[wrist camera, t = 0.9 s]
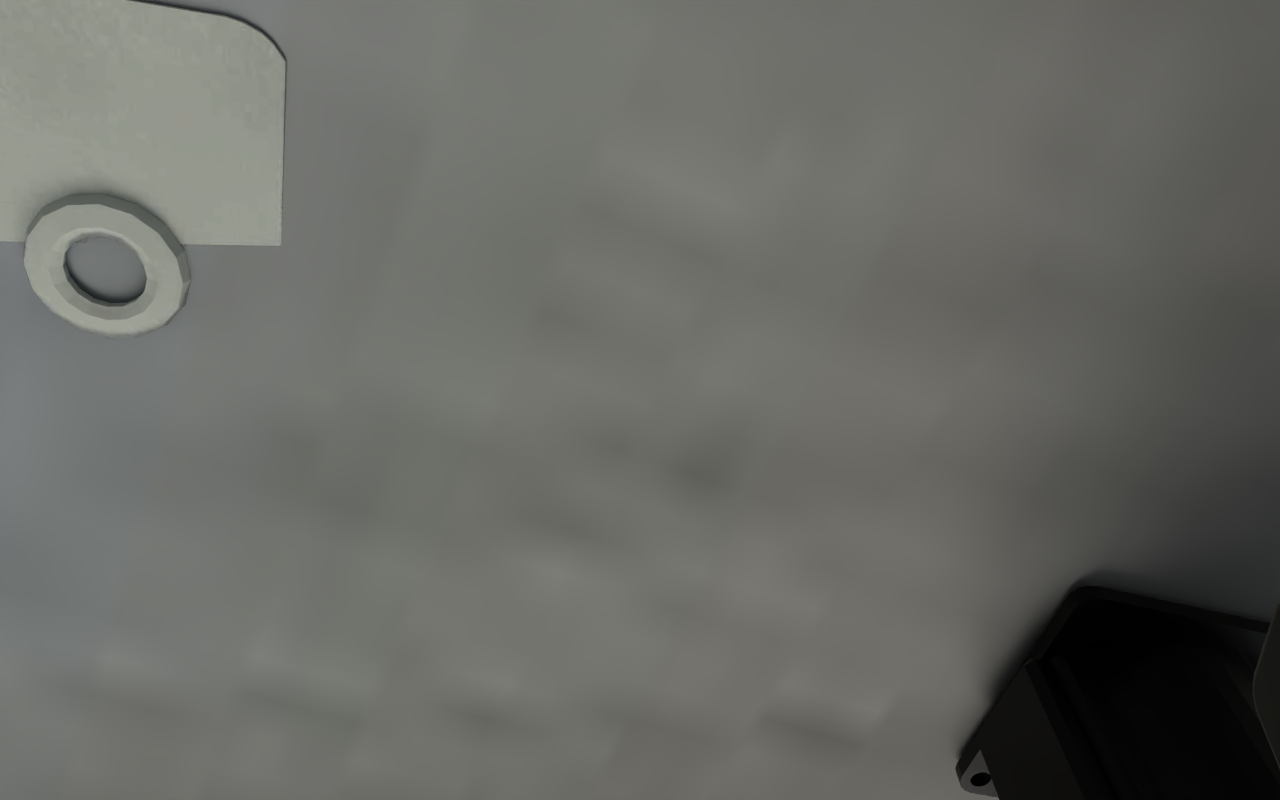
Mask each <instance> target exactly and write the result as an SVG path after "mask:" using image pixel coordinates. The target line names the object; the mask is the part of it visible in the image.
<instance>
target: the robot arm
mask: <svg viewBox="0 0 1280 800" xmlns="http://www.w3.org/2000/svg"><path fill="white" fill-rule="evenodd" d="M1091 607H1094V608H1093V609H1091V610H1089V611H1086V610H1087V609H1089V608H1091ZM955 769H956V773H957V776H958V779H959V782H960V785H961V787H962V788H963V789H964V790H965V791H968V792H971V793H976V794H981V795H987V796H993V797H999V800H1280V600H1279V601H1278V603H1277V606H1276V608H1275V611H1274V614H1273V617H1272V620H1271V623H1270V624H1269V623H1264V622H1259V621H1255V620H1250V619H1246V618H1241V617H1236V616H1232V615H1227V614H1223V613H1218V612H1213V611H1209V610H1204V609H1200V608H1195V607H1190V606H1186V605H1181V604H1177V603H1172V602H1167V601H1163V600H1158V599H1154V598H1149V597H1144V596H1140V595H1135V594H1131V593H1126V592H1121V591H1117V590H1112V589H1108V588H1103V587H1098V586H1086V587H1082V588H1079V589H1077V590H1076V591H1074V592H1072V593H1071V594H1070V595H1069V596H1068V597H1067V598H1066V600H1065V601H1064V603H1063V604H1062V606H1061V607H1060V609H1059V610H1058V612H1057V613H1056V615H1055V616H1054V618H1053V619H1052V621H1051V622H1050V624H1049V625H1048V627H1047V628H1046V630H1045V631H1044V633H1043V634H1042V636H1041V638H1040V639H1039V641H1038V642H1037V644H1036V645H1035V647H1034V648H1033V650H1032V651H1031V653H1030V654H1029V656H1028V657H1027V659H1026V660H1025V662H1024V663H1023V665H1022V666H1021V668H1020V669H1019V671H1018V672H1017V674H1016V675H1015V677H1014V678H1013V680H1012V681H1011V683H1010V684H1009V686H1008V687H1007V689H1006V690H1005V692H1004V693H1003V695H1002V696H1001V698H1000V699H999V701H998V702H997V704H996V705H995V707H994V708H993V710H992V711H991V713H990V714H989V716H988V718H987V719H986V721H985V722H984V724H983V725H982V727H981V728H980V730H979V731H978V733H977V734H976V736H975V737H974V739H973V740H972V742H971V743H970V745H969V746H968V748H967V749H966V751H965V752H964V754H963V755H962V757H961V758H960V760H959V761H958V763H957V765H956V768H955Z"/></svg>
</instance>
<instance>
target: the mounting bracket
mask: <svg viewBox="0 0 1280 800" xmlns="http://www.w3.org/2000/svg"><path fill="white" fill-rule="evenodd" d="M285 79H286V60H285V59H284V57H283V56H282V54H281V53H280V51H279V50H278V48H277V47H276V45H275V44H274V43H273V42H272V41H271V40H270V39H269V38H268V37H267V36H266V35H265V34H264V33H263V32H261V31H259V30H258V29H256V28H254V27H253V26H251V25H249V24H247V23H246V22H244V21H241V20H238V19H235V18H232V17H228V16H225V15H219V14H213V13H208V12H202V11H196V10H190V9H184V8H178V7H172V6H166V5H161V4H155V3H149V2H143V1H137V0H0V241H20V242H26V243H25V251H24V265H25V268H26V271H27V274H28V277H29V280H30V283H31V286H32V289H33V290H34V291H35V293H36V294H37V295H38V296H39V297H40V299H41V300H42V301H43V302H44V303H45V305H46V306H47V307H48V308H49V309H50V311H51V312H52V313H54V314H55V315H57V316H58V317H60V318H61V319H63V320H65V321H66V322H68V323H69V324H71V325H72V326H74V327H75V328H77V329H79V330H82V331H85V332H89V333H92V334H96V335H99V336H103V337H106V338H128V337H139V336H142V335H144V334H146V333H149V332H151V331H153V330H156V329H158V328H160V327H163V326H165V325H167V324H169V323H170V321H171V320H172V319H173V318H174V317H175V316H176V315H177V313H178V312H179V311H180V310H181V309H182V308H183V307H184V305H185V304H186V300H187V295H188V291H189V286H190V282H191V276H190V271H189V267H188V263H187V259H186V254H185V251H184V249H183V248H182V246H181V245H180V244H204V245H267V246H281V226H282V189H283V153H284V116H285ZM101 237H102V238H109V239H114V240H116V241H119V242H121V243H123V244H124V245H126V246H127V247H128V248H130V249H131V250H133V251H134V252H135V254H136V255H137V256H138V258H139V259H140V260H141V262H142V263H143V265H144V268H145V272H146V276H147V281H146V286H145V291H144V292H143V293H142V294H141V296H140V297H138V298H136V299H133V300H131V301H129V302H127V303H109V302H105V301H102V300H99V299H95V298H93V297H92V296H90V295H89V294H87V293H86V292H84V291H83V290H81V289H80V288H79V287H78V285H77V284H76V283H75V282H74V280H73V279H72V278H71V277H70V274H69V271H68V268H67V265H66V256H67V250H68V248H69V247H70V246H71V245H72V243H73V242H81V243H85V242H87V241H88V240H90V239H95V238H101Z"/></svg>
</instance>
